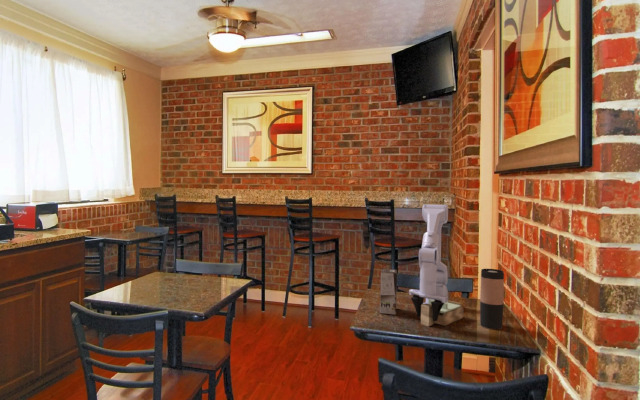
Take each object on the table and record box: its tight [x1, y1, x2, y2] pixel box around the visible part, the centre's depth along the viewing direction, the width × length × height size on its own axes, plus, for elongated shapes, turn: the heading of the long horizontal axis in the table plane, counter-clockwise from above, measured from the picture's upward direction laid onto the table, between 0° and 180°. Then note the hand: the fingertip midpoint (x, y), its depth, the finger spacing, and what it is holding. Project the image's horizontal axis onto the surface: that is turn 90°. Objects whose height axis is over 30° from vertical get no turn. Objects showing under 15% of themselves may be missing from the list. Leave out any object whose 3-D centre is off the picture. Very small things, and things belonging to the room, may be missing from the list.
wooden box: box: [419, 299, 464, 327], centre depth 143 cm, size 14×10×6 cm
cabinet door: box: [429, 299, 462, 313], centre depth 142 cm, size 13×9×3 cm
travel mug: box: [479, 268, 505, 330], centre depth 135 cm, size 8×8×20 cm
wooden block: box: [420, 302, 434, 327], centre depth 135 cm, size 3×3×7 cm
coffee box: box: [379, 268, 398, 315], centre depth 151 cm, size 9×6×16 cm
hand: (427, 318), depth 135 cm, fingers open, 6 cm apart
